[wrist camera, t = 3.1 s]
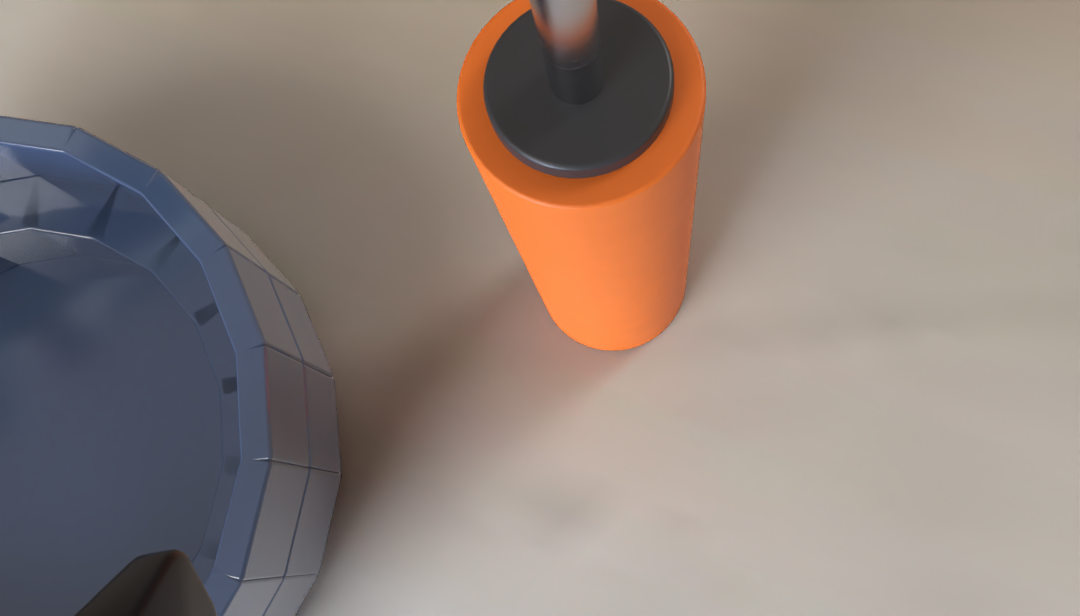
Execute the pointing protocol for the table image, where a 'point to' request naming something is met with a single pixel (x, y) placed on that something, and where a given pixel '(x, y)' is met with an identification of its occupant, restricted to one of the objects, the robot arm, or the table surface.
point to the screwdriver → (591, 156)
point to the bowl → (150, 388)
